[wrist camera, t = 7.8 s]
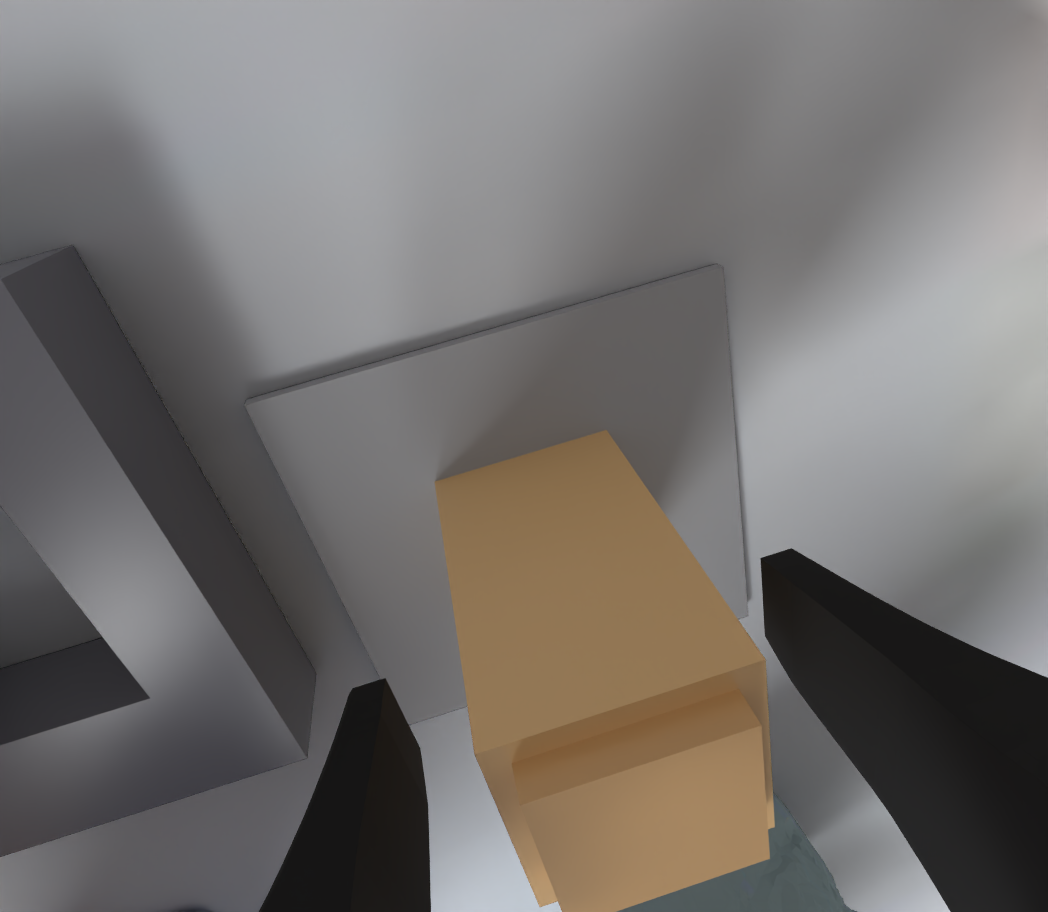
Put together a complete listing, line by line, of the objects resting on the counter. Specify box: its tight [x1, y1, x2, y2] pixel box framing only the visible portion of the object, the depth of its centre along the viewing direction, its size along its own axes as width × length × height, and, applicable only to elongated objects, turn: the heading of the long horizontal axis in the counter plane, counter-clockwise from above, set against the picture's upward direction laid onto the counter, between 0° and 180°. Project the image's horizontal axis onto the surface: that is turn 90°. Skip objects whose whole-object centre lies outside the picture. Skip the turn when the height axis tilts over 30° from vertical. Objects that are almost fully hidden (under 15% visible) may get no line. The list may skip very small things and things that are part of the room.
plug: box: [435, 430, 775, 912], centre depth 12 cm, size 4×4×8 cm
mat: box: [244, 264, 748, 725], centre depth 16 cm, size 10×10×1 cm
